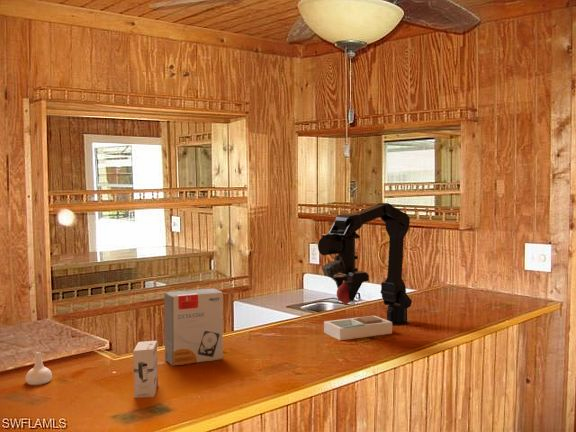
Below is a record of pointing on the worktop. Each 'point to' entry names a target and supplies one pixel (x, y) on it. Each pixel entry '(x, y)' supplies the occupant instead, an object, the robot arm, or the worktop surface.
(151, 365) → the ink box
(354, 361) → the worktop surface
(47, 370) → the garlic bulb
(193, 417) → the worktop surface
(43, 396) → the worktop surface
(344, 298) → the onion
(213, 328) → the hard drive box
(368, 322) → the white divided tray
